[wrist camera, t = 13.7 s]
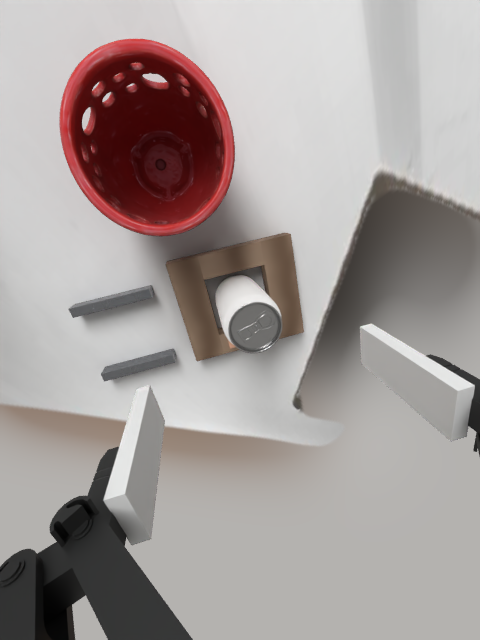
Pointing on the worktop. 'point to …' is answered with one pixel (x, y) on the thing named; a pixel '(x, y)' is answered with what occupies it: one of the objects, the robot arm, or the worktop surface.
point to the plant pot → (147, 137)
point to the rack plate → (199, 267)
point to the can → (247, 314)
